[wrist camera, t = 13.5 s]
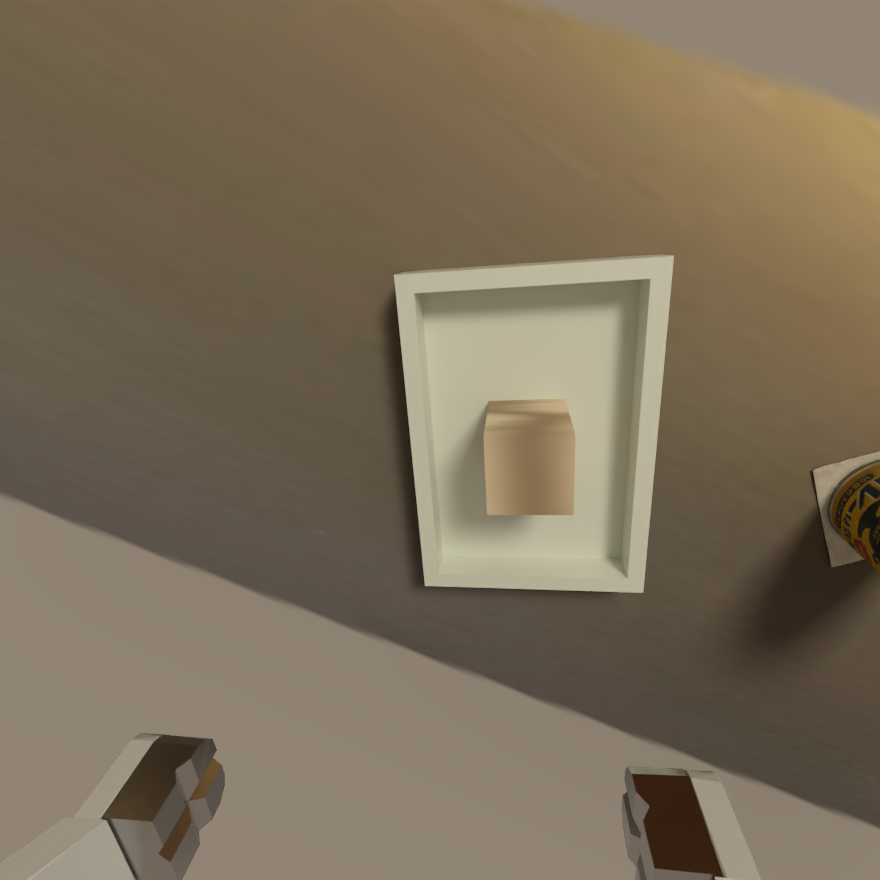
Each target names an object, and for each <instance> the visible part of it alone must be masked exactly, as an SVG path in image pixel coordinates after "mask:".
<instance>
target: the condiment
mask: <svg viewBox="0 0 880 880" xmlns="http://www.w3.org/2000/svg"><path fill="white" fill-rule="evenodd" d="M813 475H814V480H815V485H816V491H817V498H818V504H819V509H820V514H821V519H822V524H823V529H824V534H825V539H826V543H827V547H828V551H829V556H830V562H831V567H836V566H841V565H845V564H849V563H853V562H857V561H861V560H866V561H868V562H869V564H870V565H872V566H873V567H874V568H875V569H876V571H877V572H878V573H879V574H880V451H879V452H876V453H872V454H868V455H864V456H860V457H857V458H852V459H848V460H845V461H842V462H839V463H834V464H830V465H826V466H823V467H820V468H817V469H815V470H813Z"/></svg>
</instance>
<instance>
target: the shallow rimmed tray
mask: <svg viewBox="0 0 880 880" xmlns="http://www.w3.org/2000/svg"><path fill="white" fill-rule="evenodd" d="M673 260H674V256H670V255H661V254H653V255H639V256H624V257H610V258H595V259H581V260H566V261H552V262H537V263H523V264H508V265H494V266H479V267H465V268H450V269H436V270H422V271H407V272H402V273H399V274H396V275H394V280H395V290H396V300H397V311H398V321H399V331H400V341H401V351H402V361H403V371H404V381H405V391H406V401H407V411H408V421H409V431H410V441H411V451H412V461H413V471H414V481H415V491H416V501H417V511H418V521H419V531H420V541H421V551H422V561H423V571H424V581H425V586H443V587H475V588H508V589H540V590H572V591H604V592H636V593H643V589H644V578H645V567H646V556H647V545H648V534H649V523H650V512H651V501H652V490H653V479H654V468H655V457H656V446H657V435H658V424H659V413H660V402H661V392H662V381H663V370H664V359H665V348H666V337H667V326H668V315H669V304H670V293H671V282H672V271H673ZM535 399H565V401H566V404H567V408H568V411H569V414H570V418H571V421H572V424H573V428H574V431H575V434H576V438H575V480H574V515H487V503H486V482H485V461H484V440H483V435H484V429H485V423H486V417H487V412H488V406H489V401H503V400H535Z"/></svg>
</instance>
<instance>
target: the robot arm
mask: <svg viewBox="0 0 880 880" xmlns="http://www.w3.org/2000/svg"><path fill="white" fill-rule="evenodd" d="M216 751H217V749H216V747H215V744H214V742H213V739H208V738H196V737H184V736H183V737H182V736H170V735H163V734H148V733H147V734H146V733H140V734H139V735H137V736H136V737H135V738H133V739H132V740H131V741H130V742H129V743H128V745H127V746H126V748H125V749H124V750H123V752H122V753H121V754H120V756H119V757H118V758H117V760H116V761H115V762H114V764H113V765H112V766H111V768H110V769H109V770H108V772H107V773H106V774H105V776H104V777H103V778H102V780H101V781H100V783H99V784H98V785H97V787H96V788H95V789H94V791H93V792H92V793H91V795H90V796H89V797H88V799H87V800H86V802H85V803H84V804H83V805H82V807H81V808H80V809H79V811H78V812H77V814H76V815H75V816H67V817H66V818H64V819H63V820H61V821H60V822H58V823H57V824H55V825H54V826H53V827H52V828H50V829H48V830H47V831H46V832H44V833H43V834H42V835H40V836H39V837H37V838H36V839H34V840H33V841H32V842H30V843H29V844H27V845H26V846H25V847H23V848H22V849H21V850H19V851H18V852H16V853H15V854H13V855H12V856H11V857H9V858H8V859H6V860H5V861H4V862H2V863H1V864H0V880H182V879H183V877H184V875H185V873H186V871H187V869H188V867H189V865H190V863H191V861H192V859H193V857H194V855H195V853H196V850H197V849H198V847H199V845H200V839H199V830H200V829H202V827H204V826H205V825H206V824H207V823H208V822H210V821H211V820H212V819H213V817H214V815H215V813H216V811H217V808H218V806H219V804H220V802H221V798H222V793H223V790H224V786H225V774H224V771H223V767H222V765H221V764H220V763H219V762H218V761H216V760H215V759H214V758H213V756H214V754H215V752H216ZM625 783H626V788H627V793H625V794H624V795H623V801H622V818H623V830H624V837H625V842H626V848H627V853H628V857H629V858H630V860H631V861H632V862H633V863H634V865H635V866H636V876H635V880H761V878H760V876H759V873H758V871H757V868H756V866H755V863H754V861H753V858H752V856H751V853H750V851H749V848H748V846H747V844H746V841H745V838H744V836H743V834H742V831H741V828H740V826H739V823H738V821H737V819H736V816H735V814H734V811H733V809H732V806H731V804H730V801H729V799H728V796H727V794H726V791H725V789H724V786H723V784H722V781H721V779H720V778H719V776H718V775H717V774H716V773H715V772H712V771H693V770H683V769H675V768H654V767H633V766H628V767H627V768H626V771H625Z"/></svg>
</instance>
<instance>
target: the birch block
mask: <svg viewBox="0 0 880 880" xmlns="http://www.w3.org/2000/svg"><path fill="white" fill-rule="evenodd" d="M575 438H576V434H575V431H574V428H573V424H572V421H571V418H570V414H569V411H568V408H567V404H566V401H565V399H535V400H503V401H489V406H488V412H487V417H486V423H485V429H484V435H483V440H484V461H485V482H486V503H487V515H574V480H575Z"/></svg>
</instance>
